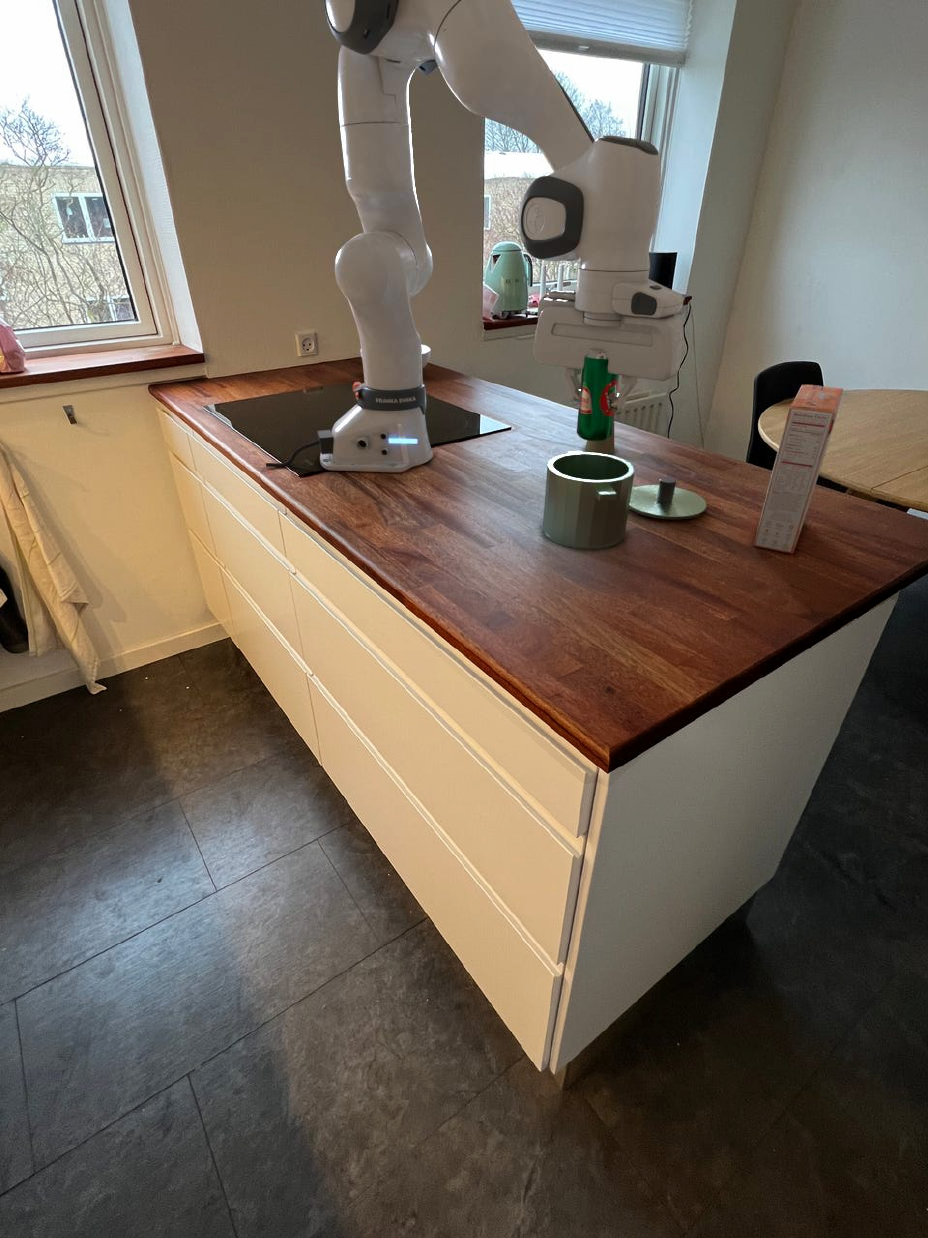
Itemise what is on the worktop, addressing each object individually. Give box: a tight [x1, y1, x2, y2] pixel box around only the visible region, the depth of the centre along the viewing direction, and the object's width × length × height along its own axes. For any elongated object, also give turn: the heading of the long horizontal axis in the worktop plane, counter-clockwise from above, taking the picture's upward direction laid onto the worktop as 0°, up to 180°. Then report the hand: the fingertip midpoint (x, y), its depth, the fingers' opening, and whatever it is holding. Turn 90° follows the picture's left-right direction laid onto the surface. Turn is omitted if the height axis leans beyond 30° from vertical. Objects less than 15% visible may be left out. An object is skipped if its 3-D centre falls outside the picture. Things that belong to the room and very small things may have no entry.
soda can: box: [576, 349, 620, 441], centre depth 88 cm, size 5×5×12 cm
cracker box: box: [752, 384, 844, 555], centre depth 93 cm, size 14×6×21 cm, turn 150°
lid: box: [629, 476, 707, 521], centre depth 106 cm, size 14×14×5 cm
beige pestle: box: [584, 409, 618, 455], centre depth 129 cm, size 6×6×11 cm
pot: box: [542, 450, 635, 550], centre depth 96 cm, size 13×18×10 cm
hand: (597, 404), depth 88 cm, fingers closed on soda can, 5 cm apart
